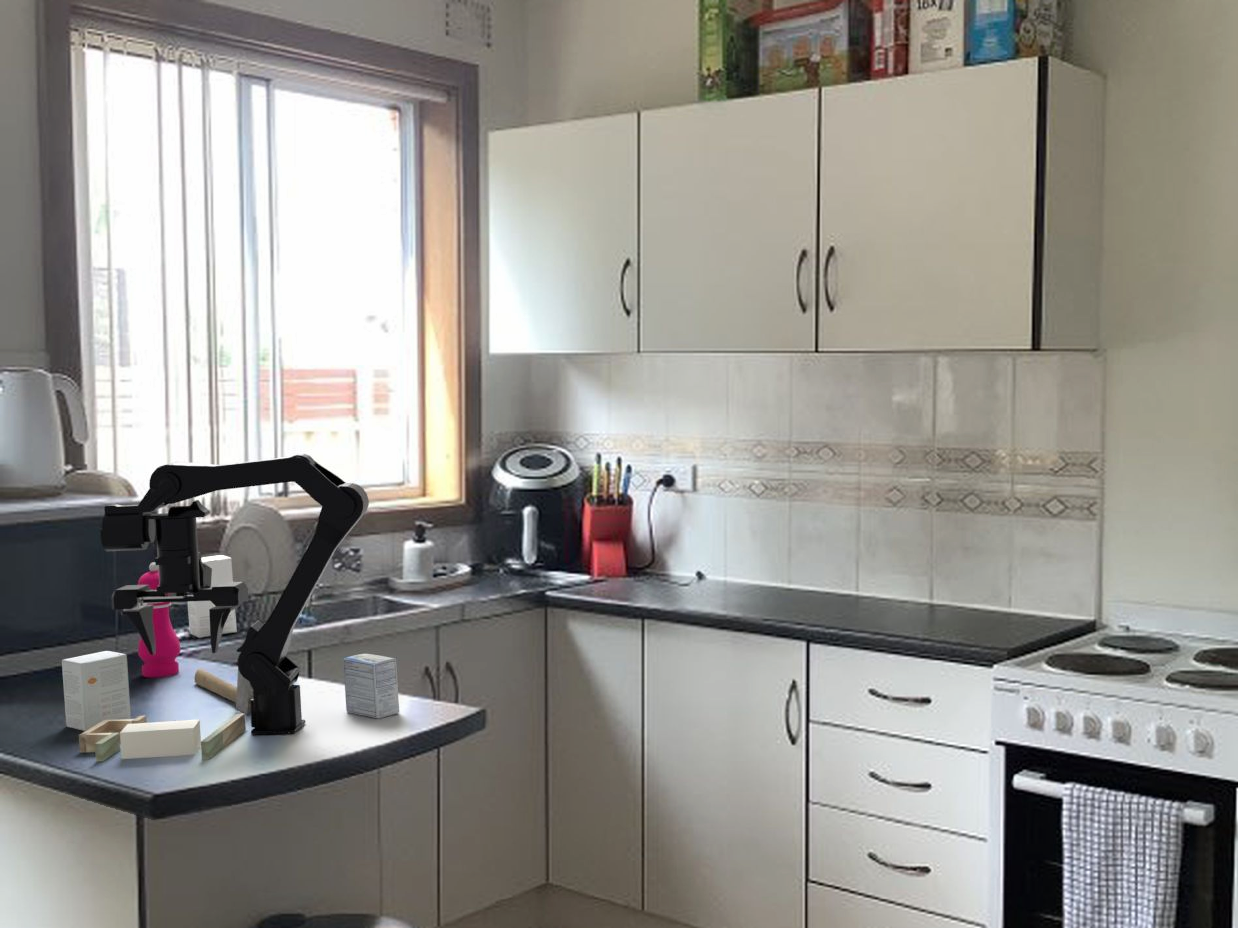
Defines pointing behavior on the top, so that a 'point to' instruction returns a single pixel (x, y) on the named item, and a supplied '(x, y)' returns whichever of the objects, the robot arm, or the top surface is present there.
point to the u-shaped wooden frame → (108, 731)
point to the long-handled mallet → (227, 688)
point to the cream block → (160, 739)
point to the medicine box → (371, 685)
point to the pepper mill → (159, 635)
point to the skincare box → (200, 609)
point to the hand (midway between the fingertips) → (183, 653)
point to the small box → (95, 689)
